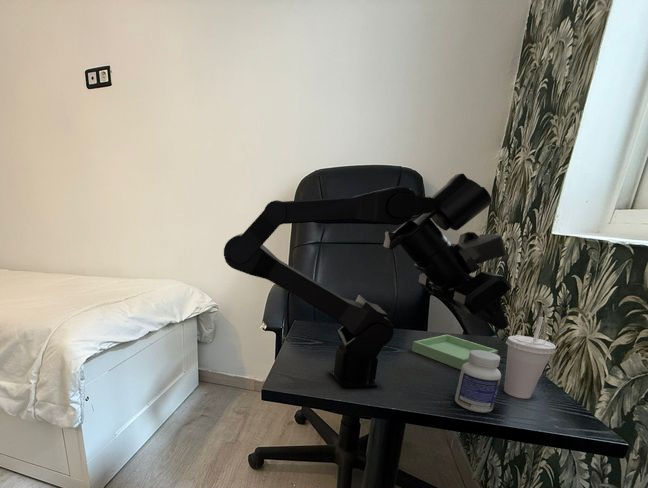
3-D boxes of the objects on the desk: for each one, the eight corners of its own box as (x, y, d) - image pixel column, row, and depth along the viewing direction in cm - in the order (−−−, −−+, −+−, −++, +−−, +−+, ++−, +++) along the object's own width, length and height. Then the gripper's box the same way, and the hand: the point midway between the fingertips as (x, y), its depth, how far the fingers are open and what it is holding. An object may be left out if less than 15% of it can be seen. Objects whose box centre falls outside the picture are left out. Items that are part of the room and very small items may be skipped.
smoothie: (550, 403, 59) (575, 323, 55) (512, 402, 59) (534, 322, 55) (521, 385, 65) (541, 312, 62) (486, 384, 66) (504, 311, 62)
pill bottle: (499, 415, 55) (513, 362, 53) (462, 411, 56) (474, 359, 54) (483, 398, 60) (495, 349, 58) (449, 395, 61) (459, 347, 59)
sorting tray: (461, 370, 71) (463, 359, 71) (411, 350, 81) (413, 341, 80) (495, 360, 77) (498, 350, 76) (445, 343, 86) (447, 334, 86)
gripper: (512, 215, 47) (581, 301, 49) (448, 214, 65) (500, 277, 66) (437, 272, 50) (504, 351, 52) (396, 256, 68) (446, 315, 69)
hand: (488, 319), depth 60 cm, fingers open, 9 cm apart
